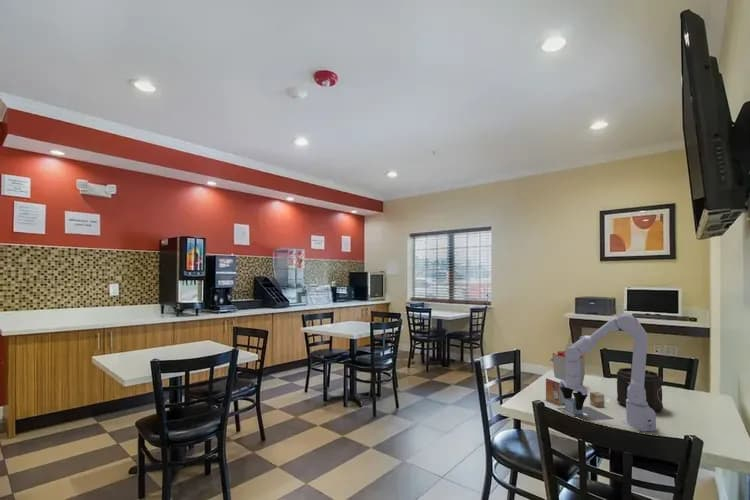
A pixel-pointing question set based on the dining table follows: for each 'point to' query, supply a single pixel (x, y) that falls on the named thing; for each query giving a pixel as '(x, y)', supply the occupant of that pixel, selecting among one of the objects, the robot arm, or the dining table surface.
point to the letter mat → (588, 414)
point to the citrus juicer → (560, 366)
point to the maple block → (597, 399)
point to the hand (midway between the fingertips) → (573, 406)
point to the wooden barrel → (650, 384)
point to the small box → (554, 391)
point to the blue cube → (572, 406)
